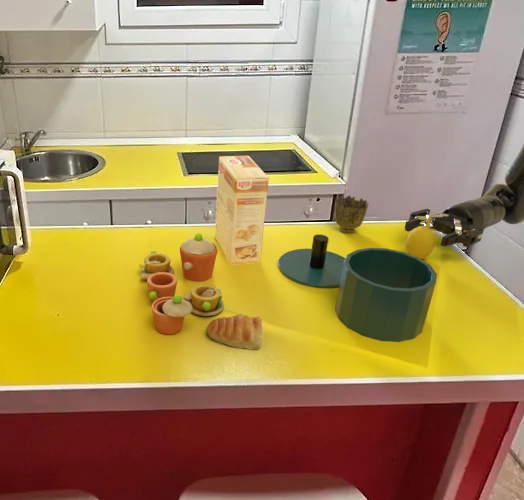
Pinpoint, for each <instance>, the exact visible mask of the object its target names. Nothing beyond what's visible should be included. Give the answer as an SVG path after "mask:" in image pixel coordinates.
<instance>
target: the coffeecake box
mask: <svg viewBox="0 0 524 500" xmlns="http://www.w3.org/2000/svg"><path fill="white" fill-rule="evenodd" d="M217 168H218V169H217V170H218V171H217V189H216V207H215V223H214V237H215V240H216V242H217V243H218V245H219V247H220V249H221V252H222V253H223V255H224V257H225V259H226V261H227V263H228V265H229V266H232V265H249V264H260V263H261V261H262V260H261V259H262V249H263V241H264V240H263V237H264V228H265V221H266V220H265V219H266V208H267V198H268V190H269V181H270V177H269V176H268V175H267V174H266V173H265V172H264V171H263V170H262V168H260V166H259V165H258V164H257V163H256V162H255V161H254V160H253V159H252V158H251V156H249V155H231V156H230V155H224V156H222V155H221V156H219V157H218V167H217Z"/></svg>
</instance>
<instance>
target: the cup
mask: <svg viewBox="0 0 524 500" xmlns="http://www.w3.org/2000/svg"><path fill="white" fill-rule="evenodd" d="M368 207H369V203H368V201H367V199H365V200H364V199H363V198H362V197H361V198H360V199H359V200H358V199H356V198H355V196H351V195H347V196H346V197H345V196H344V195H343V196H341V197H340V196H338V197H336V198H335V199H334V219H335V220H334V221H335V223H336V224H337V225H338V226H339V227H338V231H339V232H341V233H343V234H347V235H348V234H350V235H351V234H353V233H355V232H356V229H357V228H359V227H360V226H362V223H363V222H364V221H365V220H364V219H365V217H366V214H367V211H368V209H369V208H368Z"/></svg>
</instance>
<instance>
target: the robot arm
mask: <svg viewBox="0 0 524 500" xmlns="http://www.w3.org/2000/svg"><path fill="white" fill-rule="evenodd" d="M504 182H505V183H496V184H494V185H492V186H491V187H489V189H488V190H487V191H486V192H485V193H484V194H483V195H482V196H480V197H478V198H475V199H469V200H465V201H464V202H460V203H457V204H453V205H451V206H448V207H447V208H446V209H444V211H442V213H435V214H433V213H431V209H429V208H423V209H420V210H415V211H413V212H410V214H409V219H408V220H407V221H405V223H404V224H405V225H404V231H405V232H408V233H410V232H411V231H412V230H413V229H415V228H417V227H422V226H426V228H428V229H430V230H431V231H432V232H438V233H442V234H444V235H443V236H442V238H441V241H440V246H441V247H442V248H443V247H444V248H445V247H451V246H453V245H460V244H462V247H466V248H470V247H471V246H473V245H475V244H477V243H479V242H481V240H482V237H483V234H484V231H485V229H487V228H489V227H492V226H494V225H496V224H499V223H500V222H502V221H503V222H505V223H507V224H509V225H518V224H521V223H522V222H524V143H523V144H522V147H521V148H520V150H519V152H518V153H517V155H516V157H515V159H514V161H513V162H512V164H511V166H510V167H509V169H508V170H507V171H506V174H505V176H504ZM431 225H432V226H431Z"/></svg>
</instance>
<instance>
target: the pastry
mask: <svg viewBox="0 0 524 500" xmlns="http://www.w3.org/2000/svg"><path fill="white" fill-rule="evenodd" d="M206 333H207V335H208V336H209V338H210V339H212V340H213V341H214V342H218V343H219V344H224V345H226V346H229V347H234V348H237V349H238V348H239V349H245V350H257V349H260V347H261V346H262V341H263V336H262V335H263V322H262V318H261V317H260V316H256V317H254V316H248V315H242V314H236V315H233V316H228V317H225V316H222V317H220V318H215V319H212V320H211V321H209V323H208V325H207V326H206Z"/></svg>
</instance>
